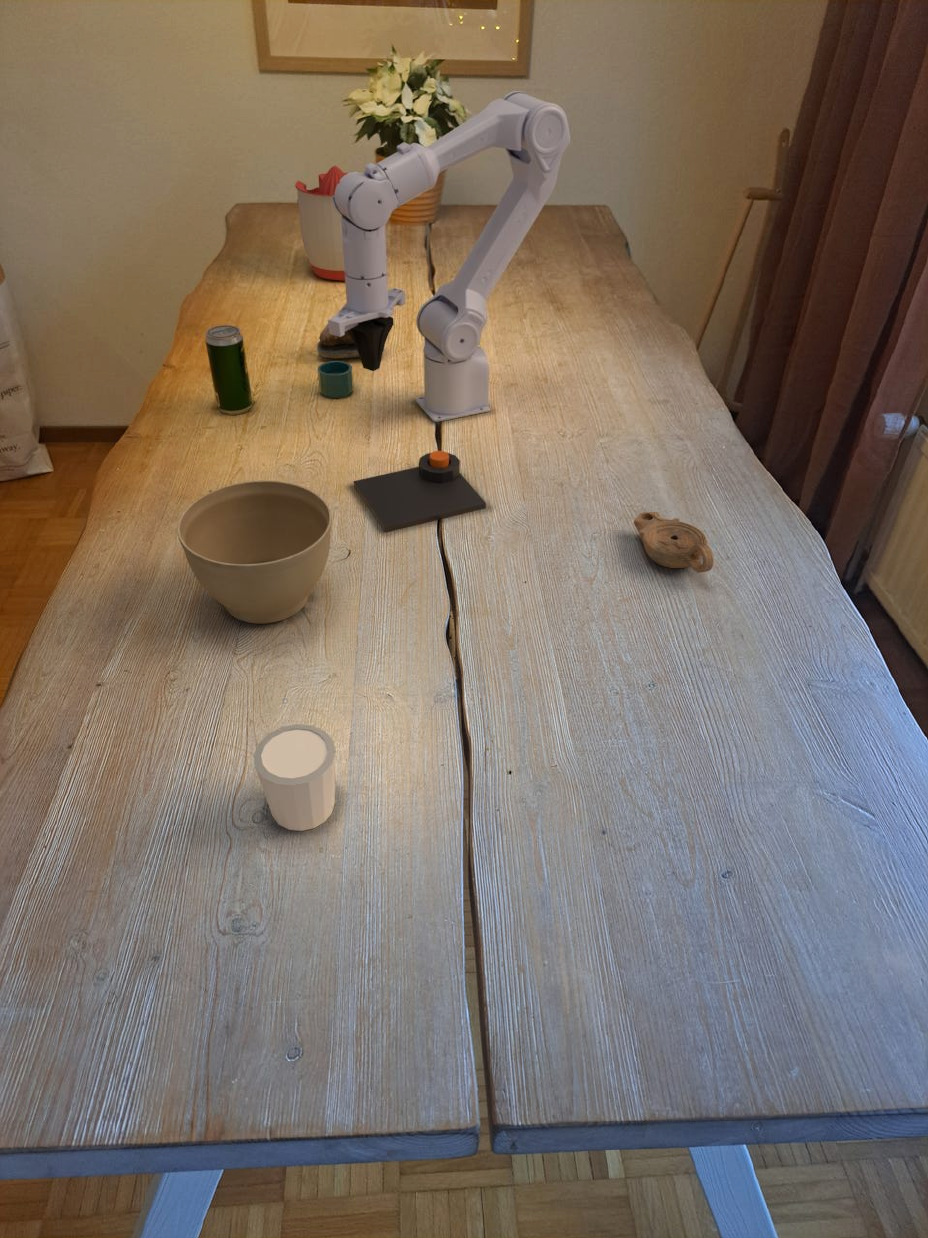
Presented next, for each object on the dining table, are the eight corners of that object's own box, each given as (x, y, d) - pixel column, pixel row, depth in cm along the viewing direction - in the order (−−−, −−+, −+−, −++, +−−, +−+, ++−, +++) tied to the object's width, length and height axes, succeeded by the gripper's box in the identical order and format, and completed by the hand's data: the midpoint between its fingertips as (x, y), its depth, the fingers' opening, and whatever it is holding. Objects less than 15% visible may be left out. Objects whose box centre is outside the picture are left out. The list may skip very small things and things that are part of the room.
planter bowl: (218, 663, 95) (200, 581, 88) (179, 579, 106) (161, 500, 99) (360, 619, 101) (354, 538, 94) (310, 544, 112) (301, 467, 105)
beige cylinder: (267, 777, 83) (257, 725, 79) (342, 773, 84) (336, 721, 79) (260, 839, 78) (249, 786, 74) (340, 834, 79) (334, 781, 74)
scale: (449, 464, 127) (449, 448, 125) (487, 508, 119) (488, 491, 117) (353, 485, 122) (351, 469, 121) (385, 533, 114) (384, 516, 112)
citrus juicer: (333, 252, 195) (325, 150, 182) (396, 269, 187) (392, 163, 174) (281, 272, 185) (269, 165, 172) (345, 291, 177) (337, 181, 164)
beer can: (225, 418, 137) (212, 341, 129) (212, 404, 140) (198, 329, 132) (258, 409, 139) (247, 333, 131) (244, 396, 142) (233, 321, 135)
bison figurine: (318, 365, 151) (312, 305, 145) (317, 348, 157) (312, 289, 150) (390, 362, 153) (387, 303, 146) (387, 345, 158) (384, 287, 151)
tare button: (444, 457, 124) (444, 449, 123) (451, 466, 122) (451, 457, 122) (426, 461, 123) (426, 452, 122) (434, 470, 122) (434, 461, 121)
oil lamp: (617, 536, 114) (622, 502, 111) (667, 523, 116) (674, 490, 113) (675, 596, 105) (682, 561, 102) (729, 581, 107) (737, 546, 104)
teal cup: (347, 381, 147) (345, 358, 144) (358, 395, 143) (356, 371, 140) (315, 387, 145) (313, 363, 142) (326, 401, 141) (323, 377, 139)
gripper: (354, 294, 115) (361, 393, 124) (421, 263, 125) (423, 357, 133) (312, 282, 118) (321, 380, 127) (381, 253, 128) (385, 345, 136)
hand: (371, 367), depth 130 cm, fingers closed
